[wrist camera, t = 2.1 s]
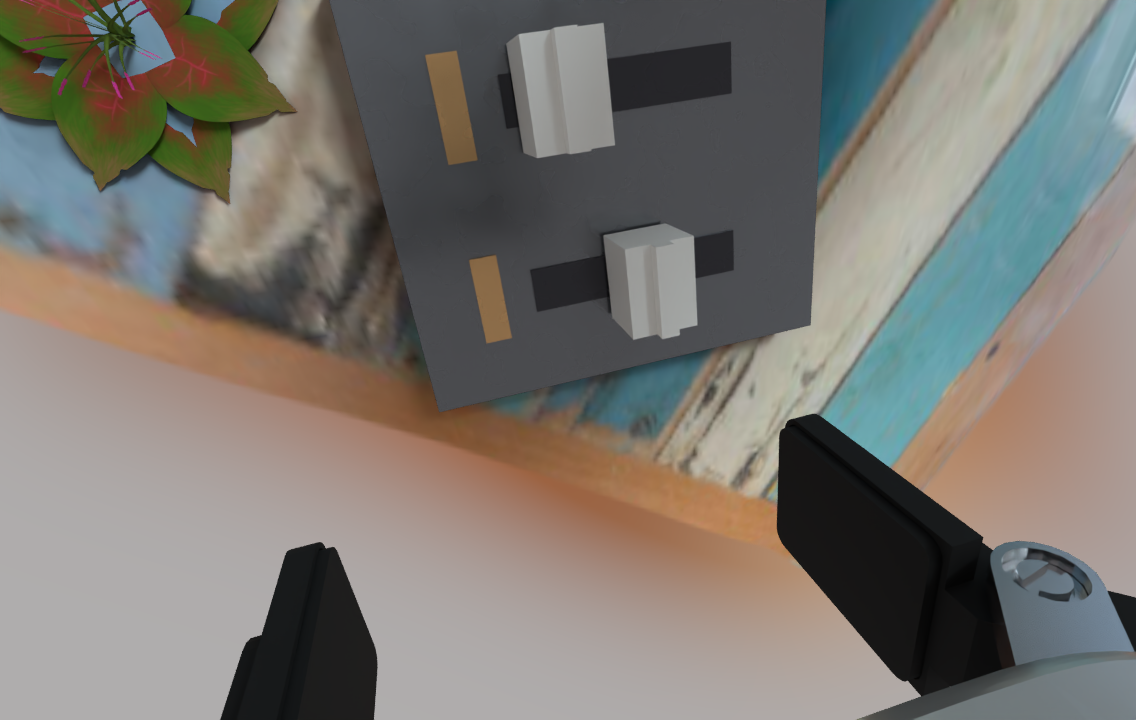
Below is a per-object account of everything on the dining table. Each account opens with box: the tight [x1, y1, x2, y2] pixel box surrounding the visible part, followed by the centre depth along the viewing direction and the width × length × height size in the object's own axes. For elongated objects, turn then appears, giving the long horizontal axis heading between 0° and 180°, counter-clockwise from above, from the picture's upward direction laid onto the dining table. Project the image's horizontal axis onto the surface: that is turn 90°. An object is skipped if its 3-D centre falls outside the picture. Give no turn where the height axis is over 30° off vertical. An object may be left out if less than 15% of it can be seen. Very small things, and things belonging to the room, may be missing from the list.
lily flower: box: [0, 0, 297, 203], centre depth 19 cm, size 12×12×5 cm
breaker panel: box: [329, 0, 826, 412], centre depth 26 cm, size 20×18×2 cm
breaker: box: [506, 23, 615, 158], centre depth 21 cm, size 3×4×4 cm
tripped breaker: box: [603, 223, 697, 340], centre depth 25 cm, size 3×4×4 cm
